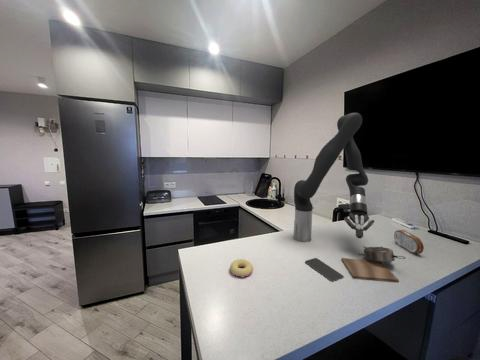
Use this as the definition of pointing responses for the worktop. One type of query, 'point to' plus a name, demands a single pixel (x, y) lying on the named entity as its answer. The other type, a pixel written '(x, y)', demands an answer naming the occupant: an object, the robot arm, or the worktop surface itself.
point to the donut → (241, 271)
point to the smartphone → (324, 269)
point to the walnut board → (369, 270)
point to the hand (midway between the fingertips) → (359, 237)
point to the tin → (408, 241)
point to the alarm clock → (379, 254)
